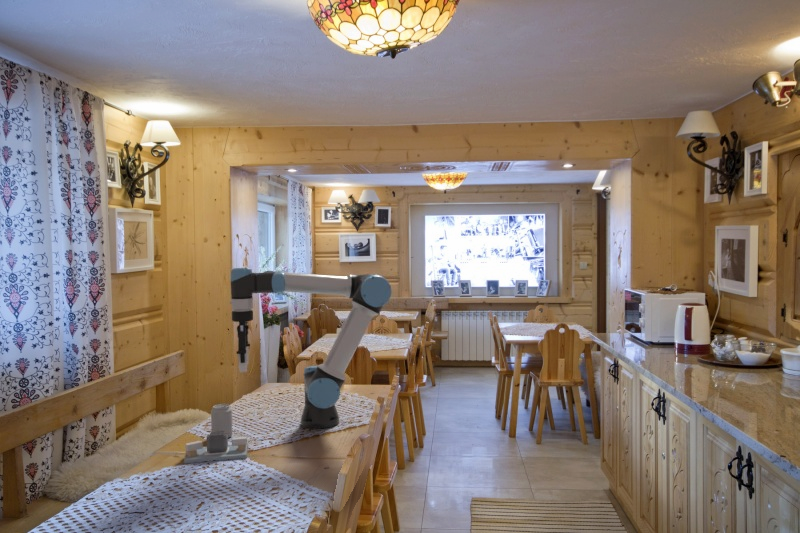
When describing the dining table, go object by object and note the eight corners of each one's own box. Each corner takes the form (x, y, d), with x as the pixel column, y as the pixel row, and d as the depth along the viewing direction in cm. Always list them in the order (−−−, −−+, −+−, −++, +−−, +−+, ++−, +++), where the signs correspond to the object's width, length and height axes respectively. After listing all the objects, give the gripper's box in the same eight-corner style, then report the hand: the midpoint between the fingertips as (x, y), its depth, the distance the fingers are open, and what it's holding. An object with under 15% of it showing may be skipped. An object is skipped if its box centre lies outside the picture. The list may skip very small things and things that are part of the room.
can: (226, 441, 220) (225, 408, 220) (207, 440, 222) (206, 407, 221) (236, 434, 228) (235, 403, 227) (218, 433, 229) (217, 402, 229)
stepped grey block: (206, 453, 203) (206, 436, 203) (208, 449, 207) (207, 432, 207) (227, 452, 204) (226, 434, 204) (228, 447, 208) (227, 430, 208)
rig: (248, 446, 214) (247, 432, 213) (246, 458, 202) (246, 443, 202) (188, 451, 210) (187, 437, 209) (183, 463, 198) (182, 448, 198)
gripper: (234, 307, 231) (235, 362, 231) (229, 314, 206) (230, 375, 207) (254, 306, 232) (255, 361, 233) (251, 313, 208) (253, 374, 208)
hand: (244, 368), depth 220 cm, fingers open, 13 cm apart
